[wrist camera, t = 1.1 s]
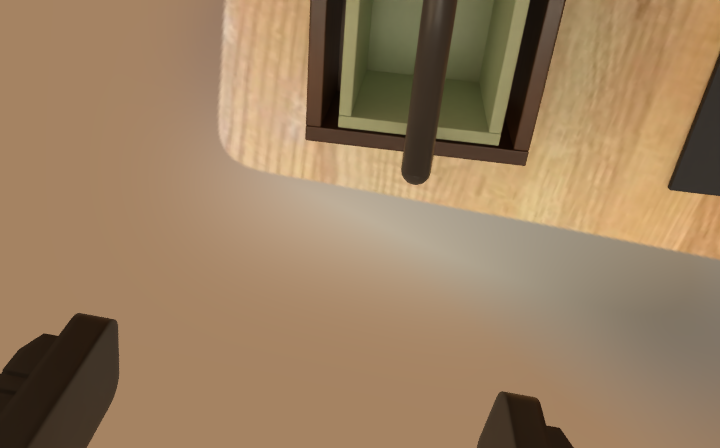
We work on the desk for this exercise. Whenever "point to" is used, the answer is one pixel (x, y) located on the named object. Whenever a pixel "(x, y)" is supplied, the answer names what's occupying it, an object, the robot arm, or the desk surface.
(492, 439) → the robot arm
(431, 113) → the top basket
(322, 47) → the open wooden box
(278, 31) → the desk surface
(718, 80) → the mat
